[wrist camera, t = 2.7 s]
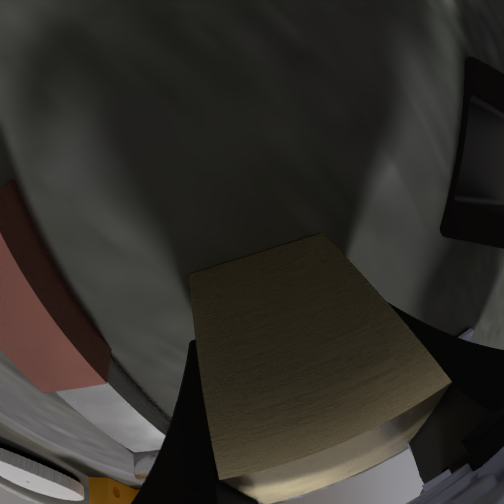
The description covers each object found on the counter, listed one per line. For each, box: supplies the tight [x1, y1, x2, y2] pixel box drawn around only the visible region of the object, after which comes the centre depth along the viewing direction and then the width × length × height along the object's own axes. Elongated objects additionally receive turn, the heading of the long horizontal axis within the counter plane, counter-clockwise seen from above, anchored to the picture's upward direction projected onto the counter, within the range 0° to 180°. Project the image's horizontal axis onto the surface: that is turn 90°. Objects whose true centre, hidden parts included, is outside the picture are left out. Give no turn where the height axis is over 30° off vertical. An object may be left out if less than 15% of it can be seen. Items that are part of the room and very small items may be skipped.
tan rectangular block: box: [189, 233, 452, 504], centre depth 9 cm, size 5×5×7 cm
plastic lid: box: [0, 448, 84, 501], centre depth 17 cm, size 14×14×2 cm
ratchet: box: [0, 179, 171, 482], centre depth 11 cm, size 8×25×5 cm, turn 12°
